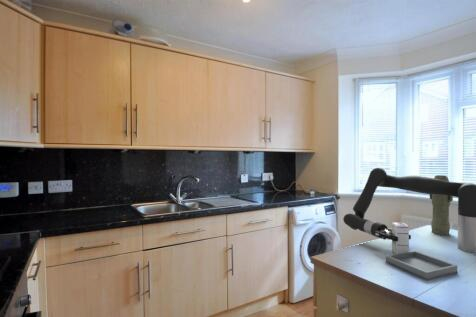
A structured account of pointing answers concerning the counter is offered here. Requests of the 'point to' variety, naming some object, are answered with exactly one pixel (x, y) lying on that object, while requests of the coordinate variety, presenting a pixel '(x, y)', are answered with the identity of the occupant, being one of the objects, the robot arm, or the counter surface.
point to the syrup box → (400, 237)
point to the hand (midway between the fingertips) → (404, 238)
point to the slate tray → (421, 265)
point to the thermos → (440, 211)
